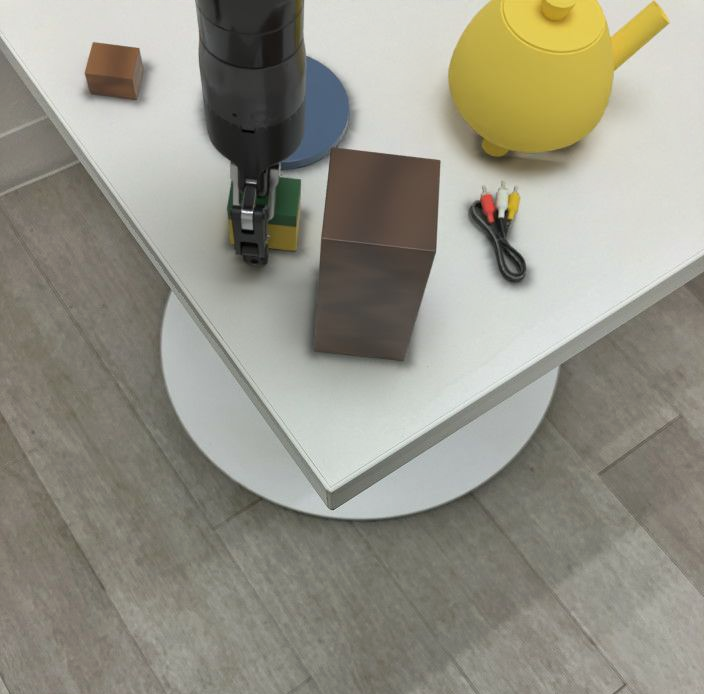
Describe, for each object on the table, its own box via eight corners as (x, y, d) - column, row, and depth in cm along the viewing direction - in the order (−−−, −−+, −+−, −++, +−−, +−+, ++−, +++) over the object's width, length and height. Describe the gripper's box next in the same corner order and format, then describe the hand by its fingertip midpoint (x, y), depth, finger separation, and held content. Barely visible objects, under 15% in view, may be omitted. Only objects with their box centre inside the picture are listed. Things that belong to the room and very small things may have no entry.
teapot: (602, 43, 85) (658, -85, 72) (654, 159, 80) (724, 43, 67) (423, 65, 82) (448, -65, 69) (465, 187, 77) (502, 72, 64)
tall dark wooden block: (313, 351, 69) (320, 238, 54) (321, 273, 72) (331, 146, 57) (404, 361, 70) (436, 251, 55) (409, 283, 73) (440, 159, 58)
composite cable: (528, 282, 74) (536, 267, 71) (477, 284, 73) (484, 268, 71) (513, 195, 77) (520, 177, 75) (464, 195, 76) (470, 178, 74)
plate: (196, 160, 75) (194, 152, 75) (216, 49, 80) (215, 41, 79) (342, 177, 76) (343, 170, 75) (353, 66, 81) (354, 58, 80)
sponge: (230, 244, 73) (226, 208, 68) (236, 208, 74) (232, 171, 69) (296, 251, 73) (296, 216, 68) (300, 215, 74) (301, 178, 70)
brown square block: (90, 94, 77) (84, 73, 75) (98, 62, 79) (92, 41, 76) (136, 99, 77) (132, 79, 75) (144, 68, 79) (139, 47, 76)
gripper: (215, 4, 60) (230, 160, 75) (187, 156, 55) (209, 289, 70) (314, 16, 60) (309, 169, 76) (295, 169, 55) (293, 299, 71)
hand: (260, 227), depth 73 cm, fingers open, 7 cm apart
